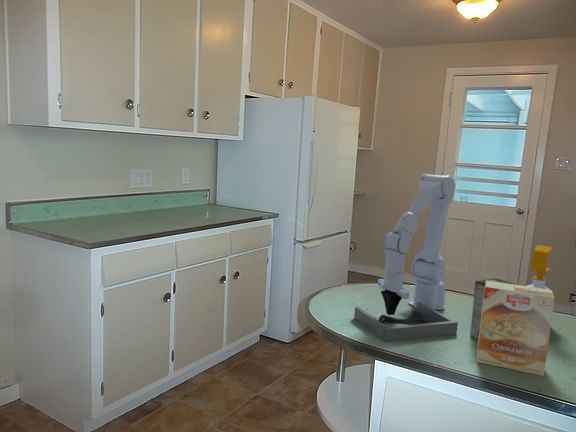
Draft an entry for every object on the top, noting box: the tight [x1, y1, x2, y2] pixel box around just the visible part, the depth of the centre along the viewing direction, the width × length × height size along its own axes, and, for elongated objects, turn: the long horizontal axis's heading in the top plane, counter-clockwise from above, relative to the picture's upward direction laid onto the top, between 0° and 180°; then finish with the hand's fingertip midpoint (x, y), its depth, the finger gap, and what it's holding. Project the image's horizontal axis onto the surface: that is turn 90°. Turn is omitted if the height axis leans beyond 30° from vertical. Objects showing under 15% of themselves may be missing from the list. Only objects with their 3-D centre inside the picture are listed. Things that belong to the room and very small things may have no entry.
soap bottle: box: [526, 244, 555, 296], centre depth 140 cm, size 9×9×25 cm
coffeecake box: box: [476, 279, 556, 377], centre depth 112 cm, size 15×7×20 cm, turn 66°
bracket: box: [378, 310, 430, 325], centre depth 138 cm, size 14×15×3 cm
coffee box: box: [469, 278, 517, 339], centre depth 129 cm, size 9×6×16 cm
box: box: [353, 302, 459, 343], centre depth 135 cm, size 23×18×4 cm
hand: (390, 314), depth 142 cm, fingers closed
